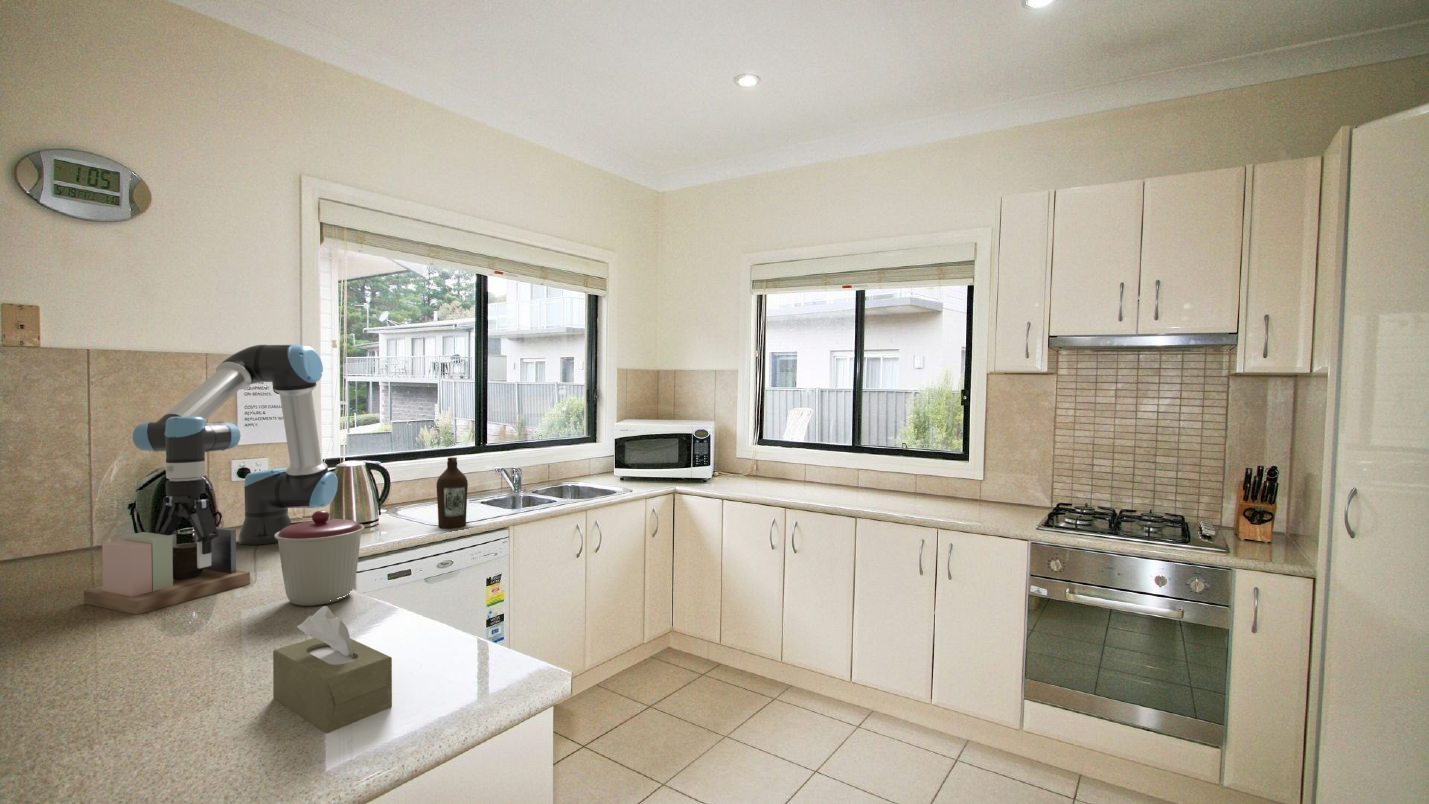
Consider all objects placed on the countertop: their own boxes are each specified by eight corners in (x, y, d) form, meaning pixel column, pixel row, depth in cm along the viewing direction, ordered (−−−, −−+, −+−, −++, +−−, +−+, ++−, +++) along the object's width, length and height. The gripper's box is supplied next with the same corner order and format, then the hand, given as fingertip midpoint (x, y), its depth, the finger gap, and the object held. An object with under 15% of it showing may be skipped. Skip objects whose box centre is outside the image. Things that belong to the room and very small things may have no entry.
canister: (314, 616, 139) (313, 520, 139) (255, 607, 145) (255, 515, 145) (381, 592, 157) (381, 506, 156) (327, 584, 162) (326, 502, 162)
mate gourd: (174, 574, 160) (174, 534, 160) (211, 571, 163) (211, 533, 163) (161, 582, 153) (161, 541, 153) (199, 579, 156) (200, 539, 156)
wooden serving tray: (199, 575, 170) (199, 564, 170) (249, 583, 162) (249, 572, 162) (83, 603, 147) (83, 590, 147) (136, 614, 140) (136, 601, 140)
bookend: (200, 566, 167) (200, 525, 167) (236, 572, 162) (235, 529, 162) (195, 567, 166) (195, 525, 166) (231, 573, 161) (230, 530, 161)
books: (144, 581, 154) (143, 532, 154) (172, 586, 150) (172, 535, 150) (102, 590, 147) (102, 539, 147) (131, 596, 143) (131, 543, 143)
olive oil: (434, 524, 235) (433, 457, 234) (464, 521, 240) (464, 455, 240) (439, 530, 226) (439, 459, 225) (470, 526, 232) (470, 458, 231)
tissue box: (272, 698, 103) (271, 601, 102) (336, 676, 111) (335, 586, 110) (327, 735, 92) (326, 626, 92) (393, 708, 100) (393, 608, 100)
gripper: (136, 478, 158) (137, 562, 159) (201, 483, 150) (202, 573, 150) (171, 474, 165) (172, 555, 166) (235, 479, 157) (236, 565, 157)
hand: (186, 564), depth 158 cm, fingers open, 13 cm apart
